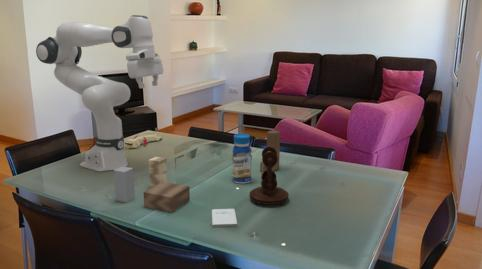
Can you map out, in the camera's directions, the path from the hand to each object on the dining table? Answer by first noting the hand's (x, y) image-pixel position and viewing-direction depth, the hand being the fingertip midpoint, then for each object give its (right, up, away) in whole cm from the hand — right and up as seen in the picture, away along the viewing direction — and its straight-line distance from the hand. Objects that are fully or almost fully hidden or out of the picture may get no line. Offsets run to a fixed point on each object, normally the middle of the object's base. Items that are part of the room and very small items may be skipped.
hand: (148, 86), depth 183 cm
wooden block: (+53, -37, +13) cm, 66 cm away
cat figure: (-15, -27, +57) cm, 64 cm away
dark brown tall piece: (+50, -46, -21) cm, 71 cm away
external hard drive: (+34, -50, -37) cm, 71 cm away
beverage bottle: (+40, -40, -1) cm, 57 cm away
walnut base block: (+12, -46, -25) cm, 54 cm away
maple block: (+6, -42, -8) cm, 43 cm away
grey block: (-4, -45, -21) cm, 50 cm away
